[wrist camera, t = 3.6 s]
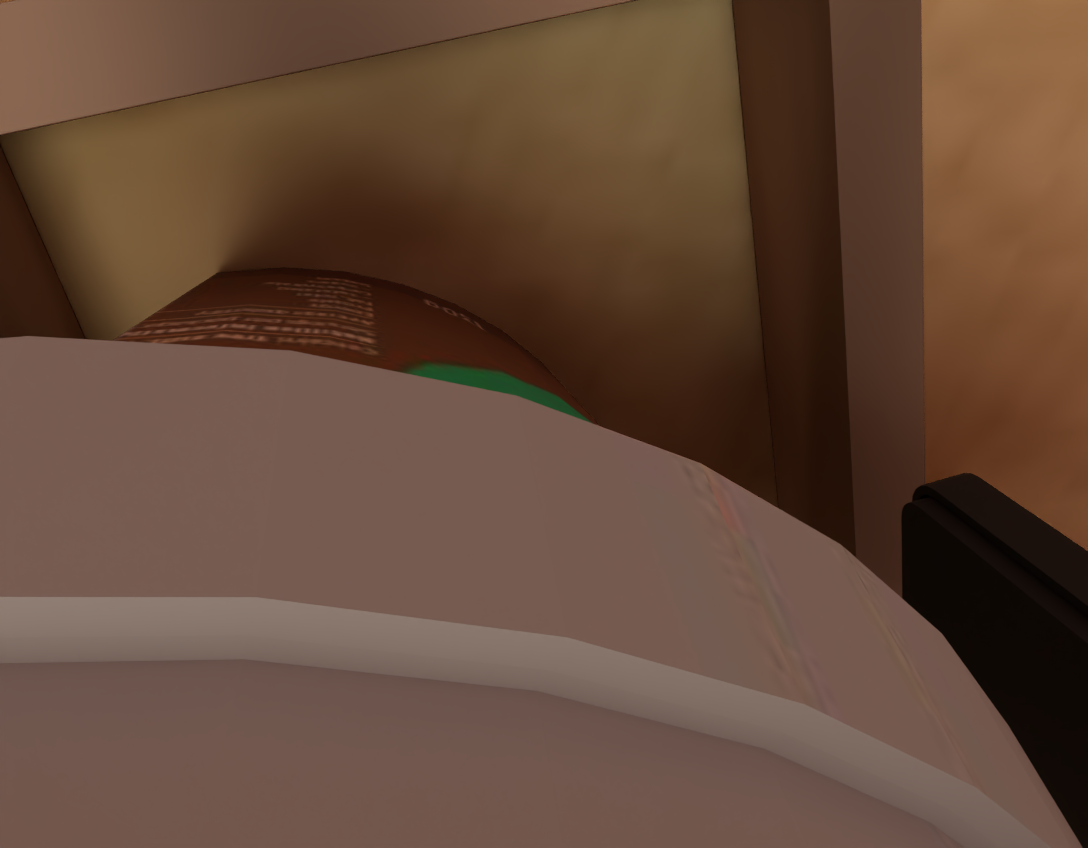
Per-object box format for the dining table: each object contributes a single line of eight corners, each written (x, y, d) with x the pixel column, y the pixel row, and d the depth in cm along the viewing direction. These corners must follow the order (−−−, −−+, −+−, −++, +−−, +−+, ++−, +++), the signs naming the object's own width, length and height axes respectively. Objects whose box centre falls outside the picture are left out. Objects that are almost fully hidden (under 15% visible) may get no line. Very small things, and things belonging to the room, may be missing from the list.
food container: (703, 787, 16) (1130, 1712, 7) (375, 866, 15) (386, 2016, 6) (672, 89, 11) (1966, 205, 2) (184, 151, 10) (-1044, 761, 1)
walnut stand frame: (799, -127, 10) (919, -178, 8) (853, 804, 17) (928, 917, 15) (-139, 62, 9) (-299, 63, 7) (305, 974, 16) (294, 1125, 14)
